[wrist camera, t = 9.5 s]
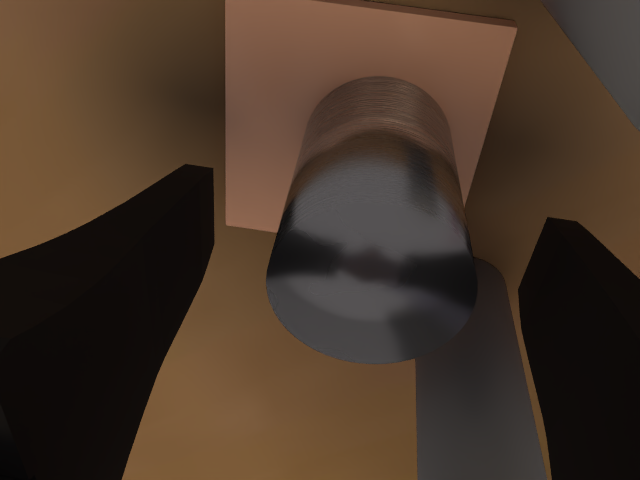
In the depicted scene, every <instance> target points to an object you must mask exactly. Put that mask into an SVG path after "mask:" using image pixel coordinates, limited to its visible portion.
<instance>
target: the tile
mask: <svg viewBox="0 0 640 480" xmlns="http://www.w3.org/2000/svg"><path fill="white" fill-rule="evenodd" d="M517 29H518V28H517V26H516V24H515V22H514V21H513V20H505V19H498V18H490V17H483V16H475V15H468V14H460V13H453V12H445V11H438V10H430V9H423V8H415V7H408V6H400V5H393V4H385V3H378V2H370V1H363V0H225V96H226V225H228V226H235V227H242V228H248V229H255V230H262V231H269V232H275V233H277V232H278V228H279V225H280V221H281V217H282V214H283V210H284V206H285V203H286V199H287V196H288V192H289V188H290V185H291V181H292V177H293V174H294V170H295V167H296V163H297V159H298V156H299V152H300V148H301V145H302V141H303V137H304V134H305V130H306V127H307V123H308V121H309V118H310V116H311V114H312V113H313V111H314V109H315V108H316V106H317V105H318V104H319V103H320V101H321V100H322V99H323V98H324V97H325V96H326V95H327V94H329V93H330V92H331V91H333V90H334V89H335V88H337V87H339V86H341V85H343V84H345V83H347V82H350V81H352V80H356V79H360V78H364V77H372V76H385V77H393V78H397V79H401V80H405V81H407V82H409V83H412V84H414V85H416V86H417V87H419V88H421V89H423V90H424V91H425V92H426V93H428V94H429V95H430V96H431V97H432V98H433V99H434V100H435V101H436V102H437V103H438V105H439V106H440V108H441V109H442V110H443V112H444V114H445V116H446V118H447V121H448V124H449V127H450V132H451V138H452V143H453V149H454V154H455V160H456V165H457V171H458V176H459V182H460V187H461V193H462V198H463V204H464V207H465V204H466V200H467V197H468V193H469V190H470V187H471V183H472V180H473V177H474V173H475V170H476V167H477V163H478V160H479V157H480V153H481V150H482V146H483V143H484V140H485V136H486V133H487V130H488V126H489V123H490V120H491V116H492V113H493V110H494V106H495V103H496V99H497V96H498V93H499V89H500V86H501V83H502V79H503V76H504V73H505V69H506V66H507V62H508V59H509V56H510V52H511V49H512V46H513V42H514V39H515V36H516V32H517Z"/></svg>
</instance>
